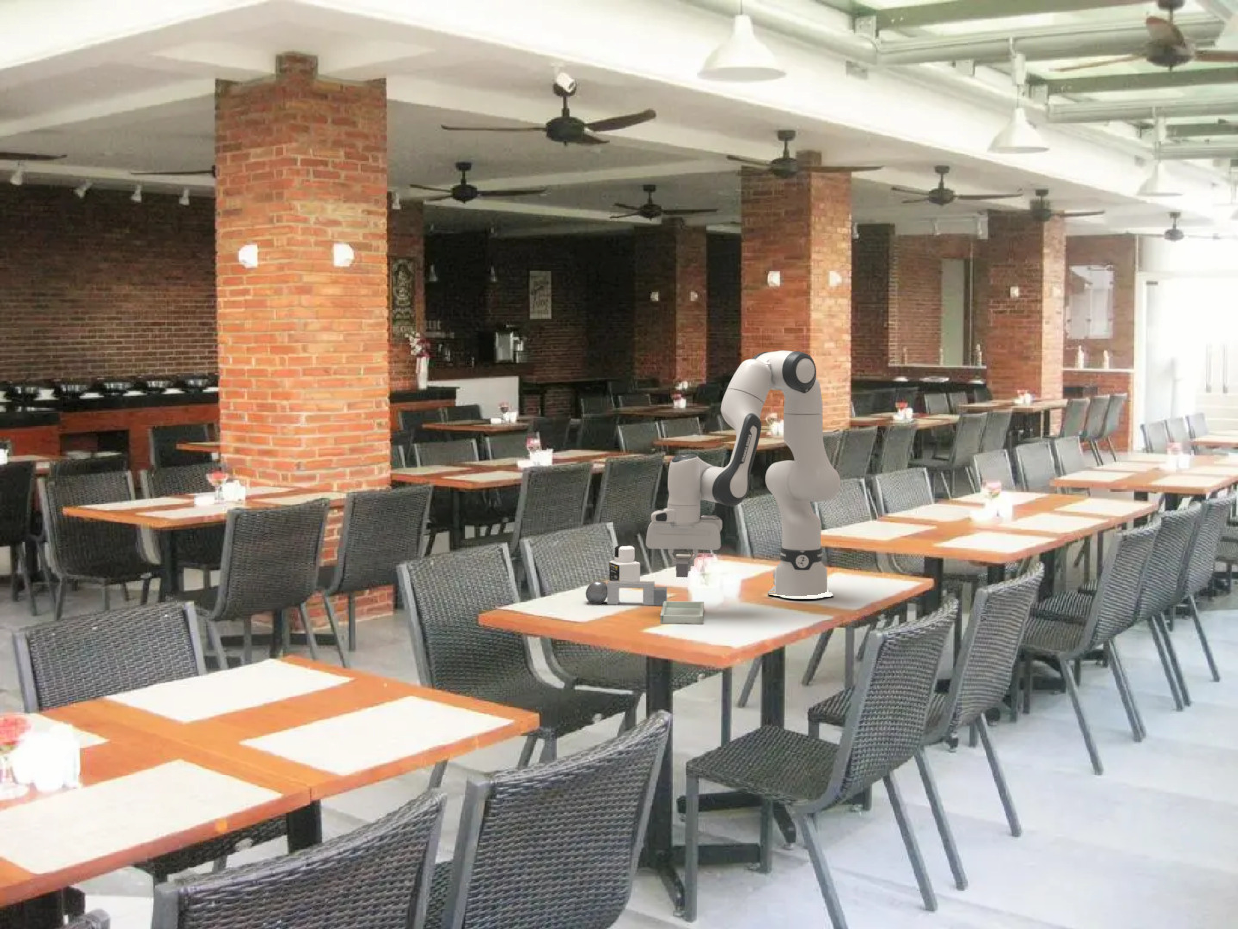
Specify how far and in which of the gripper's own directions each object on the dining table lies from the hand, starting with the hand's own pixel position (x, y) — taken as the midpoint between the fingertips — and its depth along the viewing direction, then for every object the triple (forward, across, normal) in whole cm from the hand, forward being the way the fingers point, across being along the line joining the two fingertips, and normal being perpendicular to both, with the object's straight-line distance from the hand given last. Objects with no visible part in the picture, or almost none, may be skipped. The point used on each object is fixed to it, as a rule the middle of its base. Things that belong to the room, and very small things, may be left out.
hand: (683, 565), depth 359 cm
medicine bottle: (+13, +19, -40) cm, 46 cm away
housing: (+13, +16, -11) cm, 23 cm away
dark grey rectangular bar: (+2, 0, +2) cm, 3 cm away
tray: (+13, 0, +5) cm, 14 cm away
